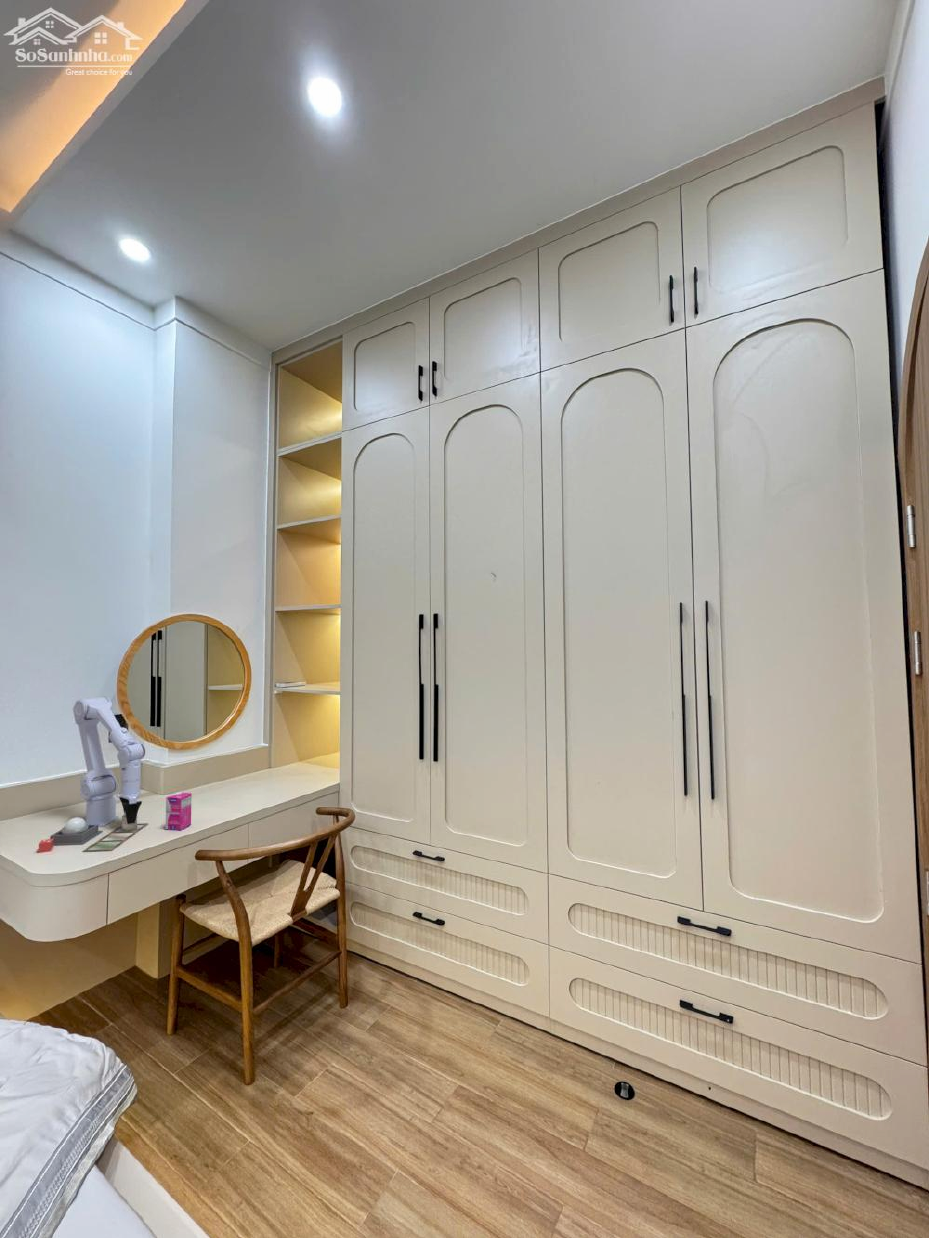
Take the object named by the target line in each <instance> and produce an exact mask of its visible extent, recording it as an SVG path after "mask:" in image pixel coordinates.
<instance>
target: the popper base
mask: <svg viewBox="0 0 929 1238" xmlns="http://www.w3.org/2000/svg"><path fill="white" fill-rule="evenodd" d="M99 827H100V826H99V824H97V825H88V830H87V831H85V832H84V833H82V834H69V835H62V829H60V830H58V831H56V832H55V833H52V834H51V835H50V837H49V839H54V846H53V847H58V846H60V847H64V846H65V847H66V846H83V845H85V844H86V843H88V842H89V841H91V840H93V839H94V838H96V837H97V836H99V835H100V834H102V833H103V830H99Z"/></svg>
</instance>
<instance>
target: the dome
mask: <svg viewBox="0 0 929 1238" xmlns="http://www.w3.org/2000/svg"><path fill="white" fill-rule="evenodd" d="M61 830H62V835H69V834H82V833H84V832H85V831H87V830H88V824H86V819H84V818H81V817H76V816H75V817H73V818H71V819H69V820H68V821H67V822H66V823H65V825H64V827H63V828H61Z"/></svg>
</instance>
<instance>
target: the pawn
mask: <svg viewBox="0 0 929 1238" xmlns="http://www.w3.org/2000/svg"><path fill="white" fill-rule="evenodd" d="M137 824H138V816H137V817H136V821H135V823H131V824H128V823H127V819H126V813H125V812H124V811H123V815H122V816H121V825H122V831H131V830H135V829H136V828H137Z"/></svg>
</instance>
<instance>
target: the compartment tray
mask: <svg viewBox="0 0 929 1238" xmlns="http://www.w3.org/2000/svg"><path fill="white" fill-rule="evenodd" d="M148 825H149V823H147V822H146V823H137V828H136V829H135V830H131V831H122V824H121V825H119V826H117V827H116V828H115V829H113V830H112V831H111V832H109V833H107V834H106V835H105V836H103V837H101V838H100V839H99V840H96V841H95V842H94V843H92V844H91V845H89V846H88V847H87V848H84V849H83V850H82V853H96V852H98V853H100V852H113V851H114V850H115V849H117V848H118V847H120V846H121V845H122V844H124V843H125V842H127V841H128V840H129V839H130V838H132V837H133V836H135V835H136V834H137V833H139V832H140V831H141V830H143V829H144V828H145V827H147V826H148Z"/></svg>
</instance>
